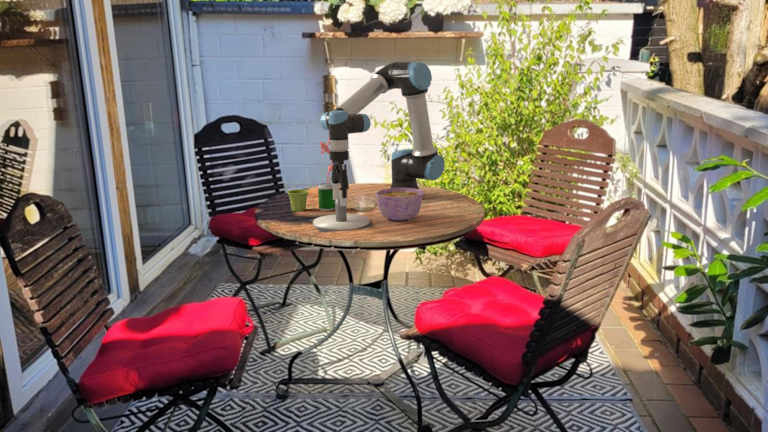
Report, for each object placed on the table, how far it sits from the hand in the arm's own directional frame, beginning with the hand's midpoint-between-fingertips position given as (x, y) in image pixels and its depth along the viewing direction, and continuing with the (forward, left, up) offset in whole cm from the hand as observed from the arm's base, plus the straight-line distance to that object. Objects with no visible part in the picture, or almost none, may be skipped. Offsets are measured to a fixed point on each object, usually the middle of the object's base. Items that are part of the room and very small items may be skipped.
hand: (340, 202), depth 287 cm
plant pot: (+12, -32, -10) cm, 36 cm away
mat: (0, 0, -9) cm, 9 cm away
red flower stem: (-10, -51, -10) cm, 53 cm away
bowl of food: (-25, 0, -10) cm, 27 cm away
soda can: (0, -27, -10) cm, 29 cm away
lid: (0, 0, -9) cm, 9 cm away
